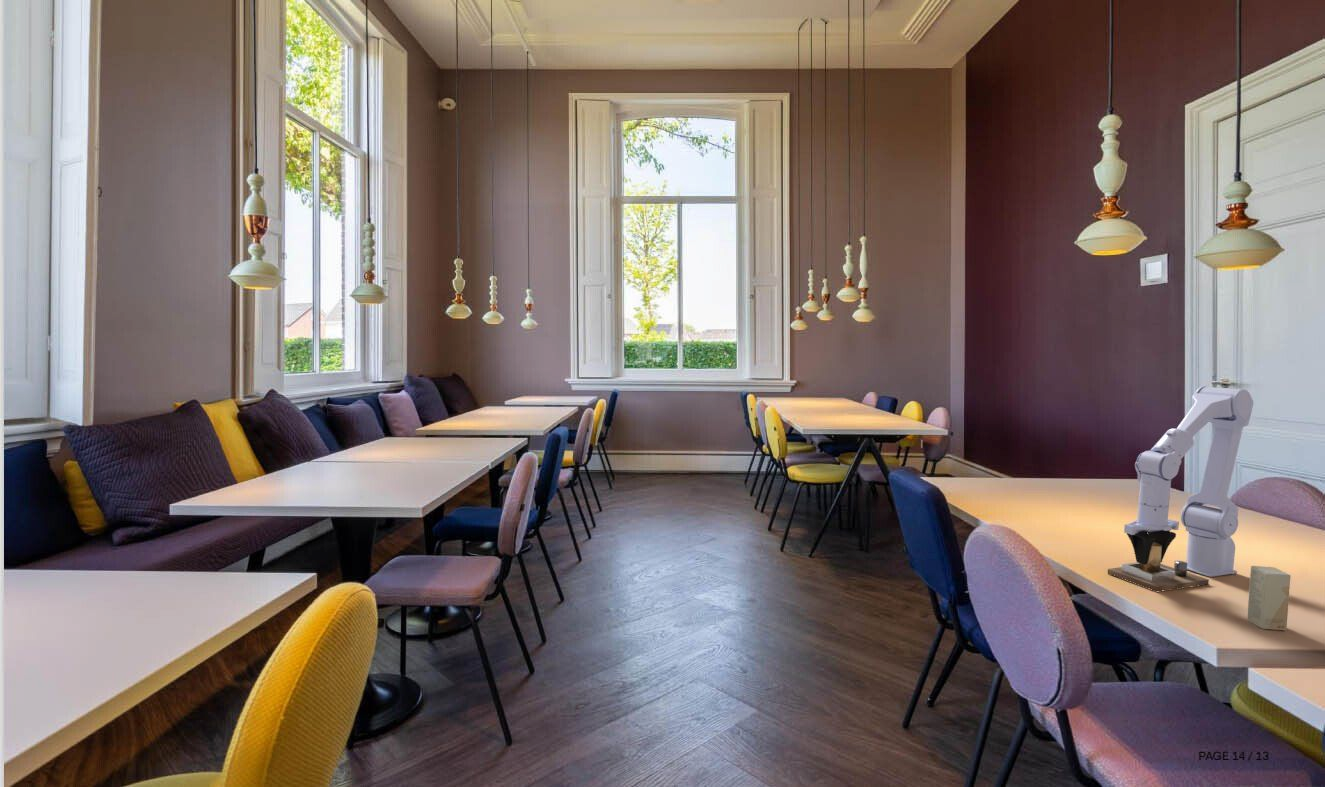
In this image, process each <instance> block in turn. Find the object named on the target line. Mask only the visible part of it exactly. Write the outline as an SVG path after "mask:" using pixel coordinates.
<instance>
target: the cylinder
mask: <svg viewBox="0 0 1325 787" xmlns="http://www.w3.org/2000/svg"><path fill="white" fill-rule="evenodd" d="M1161 553H1162V545H1161V544H1158V543H1154V542H1153V544H1152V546H1151V549H1150V554H1149V560H1148V563H1147V564H1141V563H1139V569H1141V570H1144V571H1147V572H1152V573H1156V572H1160V564H1162V562H1161Z"/></svg>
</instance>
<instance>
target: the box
mask: <svg viewBox="0 0 1325 787" xmlns="http://www.w3.org/2000/svg"><path fill="white" fill-rule="evenodd" d="M1291 578H1292V577H1291V574H1289V573H1287V572H1285V571H1283V570H1281V569H1278V568H1277V567H1273V566H1261V565H1251V566H1250V574H1249V588H1248V601H1247V602H1248V603H1247V604H1248V605H1247V616H1246V617H1247V618H1246V619H1247V620H1248V621H1249V622H1251V623H1252V624H1254V625H1256V626H1257V627H1259V628H1261V629H1262V630H1264V629H1266V630H1276V631H1287V626H1288V613H1289V600H1290V588H1291Z"/></svg>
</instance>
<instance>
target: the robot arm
mask: <svg viewBox="0 0 1325 787" xmlns="http://www.w3.org/2000/svg"><path fill="white" fill-rule="evenodd" d="M1253 407H1254V399H1253V397H1252V395H1251V393H1250V392H1249V391H1248V390H1247V389H1243V388H1240V389H1237V388H1236V389H1235V388H1233V389H1232V388H1225V387H1224V388H1223V387H1209V386H1205V385H1203V386H1200V387H1198V388H1197V390H1196V391H1194V393H1193V394H1192V396H1191V408H1190V409H1189V410H1188V411H1187V413H1186V415H1185V416H1184V417H1183V419H1182V420H1181V422H1179V424H1178V426H1177V427H1176V428H1170V429H1168V430H1167V431H1165V433H1164V434H1163V435H1162V436H1161V438H1160V439H1158V441H1157V442H1155V444H1154V446H1153V447H1151V448H1150V450H1145V451H1144V452H1141V453H1140V454H1139V455H1138V456H1137V458H1136V461H1135V463H1134V468H1135V471H1136V473H1137V481H1138V482H1139V493H1138V504H1137V515H1136V516H1137V519H1135V521H1132V522H1129V523H1126V524H1125V523H1124V530H1123V533H1125V534H1126V536H1127V537H1128V538H1129V540H1130V543H1131V545H1132V547H1133V552H1134V556H1135V559H1136V562H1138V563H1141V564H1147V563H1148V560H1149V554H1150V549H1151V546H1152V544H1153V542H1154V543H1158V544H1161V545H1162V553H1161V563H1162V562H1163V559H1164V557H1165V554H1166V552H1167V550H1168V547H1169V546H1170V545H1171V543H1172V542H1173V541H1174V539H1176V537H1177V534H1176V532H1174V531H1178V530H1179V525H1180V521H1181V524H1182V525H1183V527H1185V532H1188V536H1187V537H1188V538H1187V546H1186V548H1187V549H1186V561H1185V562H1186V563H1188V564H1187V571H1191V572H1194V573H1197V574H1199V575H1203V576H1207V577H1210V578H1211V577H1219V576H1226V575H1233V574H1238V570H1235V569H1234V565H1235V556H1236V555H1235V553H1236V544H1235V542H1234V539H1233V538H1232V537H1231V536H1233V535H1234V534H1236V531H1237V529H1238V527H1239V519H1238V516H1239V515H1238V514H1239V507H1238V506H1237V505H1236V504H1235V503H1234V502H1233V501H1232V500H1231V499H1230V498H1229V497H1228V494H1229V489H1230V485H1231V481H1232V477H1233V473H1234V467H1235V464H1236V460H1237V456H1238V451H1239V447H1240V442H1241V439H1242V435H1243V430H1244V428H1245V427H1247V426H1249V423H1250V419H1251V415H1252V411H1253ZM1208 423H1211V424H1212V426H1213V427H1214V431H1213V435H1212V438H1211V444H1210V446H1209V447H1210V448H1209V451H1208V456H1207V460H1206V465H1205V469H1204V474H1203V477H1202V481H1201V487H1200V490H1199V492H1196V493H1193V494H1190V495H1189V496H1188V497H1187V499H1186V502H1185V505H1184V506H1183V507H1182V509H1181V512H1180V521H1177V520H1173V519H1169V511H1170V497H1171V488H1172V484H1171V483H1172V480H1173V479H1174V478H1175V477H1176V476H1177V475H1178V472H1179V470H1180V466H1181V464H1182V459H1183V457H1184V456H1185V455H1186V454H1187V453H1188V452H1189V451H1190V450H1191V449H1192V447H1193V446H1194V445H1195V444H1194V443H1195V441H1194V438H1193V437H1195V436H1196V434H1197V433H1199V432H1200V430H1202V429H1203V428H1204V427H1205V426H1206V425H1207V424H1208ZM1207 505H1210V506H1207ZM1211 506H1214V507H1211ZM1172 530H1174V531H1172Z"/></svg>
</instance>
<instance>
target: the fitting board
mask: <svg viewBox="0 0 1325 787" xmlns="http://www.w3.org/2000/svg"><path fill="white" fill-rule="evenodd" d="M1187 564H1188V563H1186V561H1182V560H1174V565H1173V566H1174V567H1172V566H1169V565H1165V564H1163V563H1160V572H1156V573H1152V572H1147V571H1144V570H1141V569H1139V563H1138V562H1137V561H1136V562H1128V563H1122V565H1121V567H1119V566H1118V567H1113V568H1108V569H1107V573H1108V575H1109V574H1111V575H1110V576H1112V575H1115V576H1117V577H1120V578H1123V579H1126V580H1128V581H1131V582H1134V583H1136V584H1139V585H1142V586H1144V587H1147V588H1150V589H1152V590H1151V591H1153V590H1155V591H1162V590H1168V591H1170V590H1169V589H1175V590H1178V589H1177V588H1182V587H1189V588H1191V587H1190V586H1195V587H1199V586H1198V585H1202V586H1206V585H1205V584H1208V585H1209V579H1208V578H1206V577H1202V576H1199V575H1197V574H1192V573H1191V572H1188V570H1187ZM1115 576H1114V577H1115ZM1117 577H1116V578H1117ZM1120 578H1119V579H1120ZM1123 579H1122V580H1123ZM1126 580H1125V581H1126ZM1128 581H1127V582H1128ZM1131 582H1130V583H1131ZM1134 583H1133V584H1134ZM1136 584H1135V585H1136ZM1139 585H1138V586H1139ZM1142 586H1141V587H1142ZM1144 587H1143V588H1144ZM1147 588H1146V589H1147ZM1150 589H1149V590H1150ZM1182 589H1183V588H1182ZM1155 591H1154V592H1155ZM1162 592H1163V591H1162Z"/></svg>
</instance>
